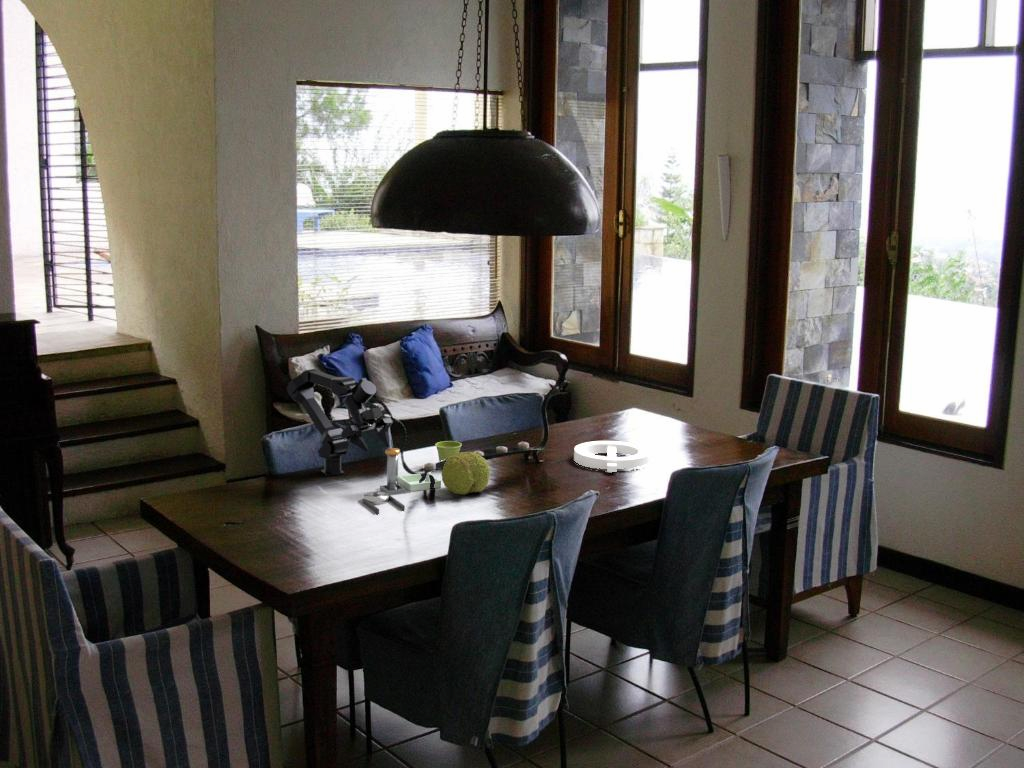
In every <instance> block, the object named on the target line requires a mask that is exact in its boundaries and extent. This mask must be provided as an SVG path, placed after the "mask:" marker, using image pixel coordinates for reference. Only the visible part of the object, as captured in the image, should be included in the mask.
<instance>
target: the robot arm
mask: <svg viewBox="0 0 1024 768" xmlns="http://www.w3.org/2000/svg"><path fill="white" fill-rule="evenodd" d="M316 385H318V386H321V387H323V388H327V389H329V390H330V391H331V393H332V394H334V395H335V396H337V397H344V396H346V397H345V398H342V399H341V402H340V407H341V408H343V407H345V408H346V409H347V411H348V412H349V415H350V416H351V417H350V418H349V420H350V422H354V423H351V424H348V425H346V426H345V428H343V429H342V428H341V427H340V428H338V427H337V428H335V427H334V426H333V424H332V422H331V421H330V419H329V418H328V417H327V415H326V414H325V412H324V411H323V409H322V408H321V406H320V405H319V403H318V402H317V400H316V398H315V397H314V396H315V392H314V391H315V389H314V387H315V386H316ZM286 392H287V394H288V396H289V397H291V399H292V400H293V401H294V402H296V403H299V404H300V405H301V406H302V407H303V409H304V410H305V412H306V414H307V415H308V417H309V418H310V420H311V421H312V422H313V425H314V426H315V427H316V429H317V431H318V432H319V434H320V435H321V445H322V446H321V447H319V449H318V451H317V452H318V456H319V457H320V458H323V459H324V469H321V472H322V474H324V475H325V476H327V477H328V476H337V475H345V471H343V470H342V456H346V455H347V453H348V449H349V446H350V443H352V444H353V445H355V446H357V447H358V448H360V450H361V451H364V453H369V452H370V451H369V446H368V445H367V444H366V441H365V439H364V437H363V432H367V431H373V430H374V432H376V436H377V437H378V438H379V439H380V441H381V442H382V443H383V444H384V446H385V447H386V449H388V448H390V447H391V446H390V439H389V429H390V428H391V426H392V425H393V424H394V422H393V420H392V418H391V417H389V416H387V417H383V415H384V414H385V413H386V412H385V408H384V406H383V405H382V404H378V405H375V407H374V408H370V407H366V405H365V404H366V403H368V401H369V400H371V398H372V397H373V396H374V395H375V393H376V392H377V386H376V385H375V384H374V383H373V382H372V381H370V380H368V379H367V378H366V377H363V378H360V379H359V381H356V380H355V378H353V377H348V376H347V377H346V376H344V377H343V376H335V375H332V374H328V373H325V372H323V371H320V370H318V369H316V368H311V369H305V370H303V371H302V372H300V374H299V375H298V376H296V377H295V378H293V379H292V380H290V381H289V382H288V384H287V386H286ZM377 418H379V419H378V420H377ZM349 442H350V443H349Z"/></svg>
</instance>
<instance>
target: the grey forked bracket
mask: <svg viewBox="0 0 1024 768" xmlns="http://www.w3.org/2000/svg"><path fill="white" fill-rule="evenodd" d="M389 502H391V504H393V505H395V506H396V507H398V508H399V509H400V510H402V511H403V512H405V511H404V510H405V508H406V506H405V505H404V504H403V503H401V501H399V500H397V499H396V498H394V497H393V496H392V495H391V496H390V495H389V494H387V493H384V492H378V491H369V492H367V493H364V495H363V498H362V504H364V505H365V506H366V507H367V508H369V509H370V510H371V511H373V512H374V513H375V515H376V516H379V515H380V509H379V508H378V507H377V506H376V505H378V506H379V505H384V504H387V503H389ZM402 511H401V512H402ZM378 514H379V515H378Z"/></svg>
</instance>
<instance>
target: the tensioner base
mask: <svg viewBox="0 0 1024 768" xmlns="http://www.w3.org/2000/svg"><path fill="white" fill-rule="evenodd" d="M375 490H376V492H384V493H387V494H389V495H390V496H391V497H392V496H396V495H398V496H399V495H403V494H411V492H410V491H409V490H407V489H406V488H404V487H403V486H401V485H400V484H398V489H395V490H387V484H385V485H379V488H375Z"/></svg>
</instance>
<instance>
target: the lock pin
mask: <svg viewBox="0 0 1024 768" xmlns="http://www.w3.org/2000/svg"><path fill="white" fill-rule="evenodd" d="M384 453H385V454H386V456H387V457H386V464H387V465H386V472H387V473H386V477H387V478H386V485H387V490H395V489H398V476H399V454H401V449H400V448H397V447H389V448H385V450H384Z"/></svg>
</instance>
